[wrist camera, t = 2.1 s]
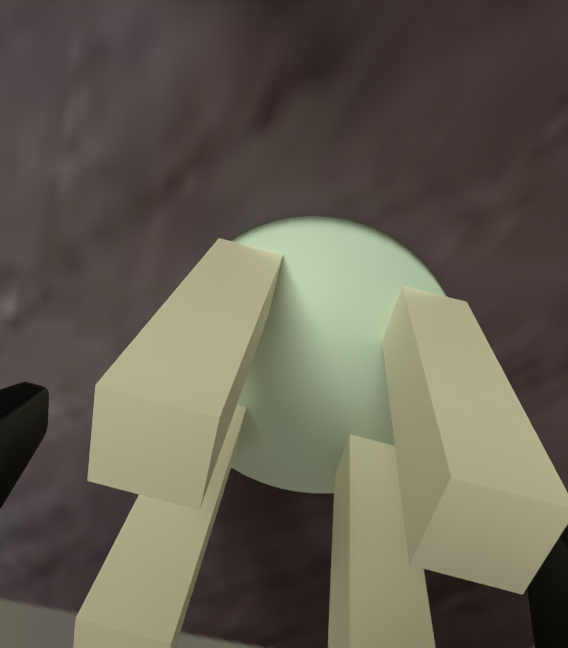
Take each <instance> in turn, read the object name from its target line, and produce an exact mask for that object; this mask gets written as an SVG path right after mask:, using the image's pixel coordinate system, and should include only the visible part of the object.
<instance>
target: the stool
mask: <svg viewBox="0 0 568 648" xmlns="http://www.w3.org/2000/svg"><path fill="white" fill-rule="evenodd" d="M231 468H233V469H235V470H237V471H238V472H240V473H242V474H244V475H245V476H248V477H250V478H252V479H255V480H257V481H259V482H262V483H265V484H268V485H271V486H274V487H277V488H281V489H286V490H291V491H296V492H306V493H334V506H333V531H332V556H331V581H330V606H329V632H328V648H435V641H434V634H433V628H432V621H431V614H430V608H429V601H428V595H427V588H426V581H425V575H424V569H427V570H431V571H434V572H438V573H442V574H446V575H450V576H454V577H457V578H461V579H465V580H469V581H473V582H477V583H480V584H484V585H488V586H492V587H496V588H499V589H503V590H507V591H511V592H515V593H519V594H522V595H523V593H524V592H525V590H526V589H527V587H528V585H529V584H530V582H531V581H532V579H533V578H534V576H535V574H536V573H537V571H538V570H539V568H540V567H541V565H542V563H543V562H544V560H545V559H546V557H547V555H548V554H549V552H550V551H551V549H552V548H553V546H554V544H555V543H556V541H557V540H558V538H559V537H560V535H561V533H562V532H563V530H564V529H565V527H566V526H567V524H568V493H567V491H566V489H565V487H564V485H563V483H562V482H561V480H560V478H559V476H558V474H557V472H556V470H555V468H554V466H553V464H552V463H551V461H550V459H549V457H548V455H547V453H546V451H545V449H544V447H543V446H542V444H541V442H540V440H539V438H538V436H537V434H536V432H535V430H534V429H533V427H532V425H531V423H530V421H529V419H528V417H527V415H526V413H525V412H524V410H523V408H522V406H521V404H520V402H519V400H518V398H517V396H516V395H515V393H514V391H513V389H512V387H511V385H510V383H509V381H508V379H507V377H506V376H505V374H504V372H503V370H502V368H501V366H500V364H499V362H498V360H497V359H496V357H495V355H494V353H493V351H492V349H491V347H490V345H489V343H488V342H487V340H486V338H485V336H484V334H483V332H482V330H481V328H480V326H479V325H478V323H477V321H476V319H475V317H474V315H473V313H472V311H471V309H470V307H469V306H468V304H467V302H465V301H461V300H457V299H453V298H449V297H447V296H446V293H445V291H444V289H443V288H442V286H441V284H440V283H439V281H438V280H437V278H436V277H435V275H434V274H433V272H432V271H431V270H430V269H429V268H428V267H427V265H426V264H425V263H424V262H423V261H422V260H421V259H420V258H419V257H418V256H417V255H416V254H415V253H413V252H412V251H411V250H410V249H409V248H408V247H407V246H405V245H404V244H402V243H401V242H399V241H398V240H396V239H394V238H393V237H391V236H390V235H388V234H386V233H384V232H382V231H379V230H377V229H375V228H373V227H371V226H368V225H365V224H362V223H359V222H355V221H352V220H347V219H342V218H336V217H327V216H301V217H291V218H286V219H281V220H276V221H272V222H269V223H266V224H264V225H261V226H258V227H255V228H253V229H251V230H249V231H247V232H245V233H243V234H241V235H239V236H238V237H236V238H235V239H233V240H232V241H228V240H224V239H220V238H219V239H218V240H217V241H216V242H215V244H214V245H213V246H212V247H211V248H210V249H209V251H208V252H207V253H206V254H205V255H204V257H203V258H202V259H201V260H200V261H199V263H198V264H197V265H196V266H195V267H194V268H193V270H192V271H191V272H190V273H189V274H188V276H187V277H186V278H185V279H184V280H183V282H182V283H181V284H180V285H179V286H178V287H177V289H176V290H175V291H174V292H173V293H172V295H171V296H170V297H169V298H168V299H167V301H166V302H165V303H164V304H163V305H162V307H161V308H160V309H159V310H158V311H157V312H156V314H155V315H154V316H153V317H152V318H151V320H150V321H149V322H148V323H147V324H146V326H145V327H144V328H143V329H142V330H141V331H140V333H139V334H138V335H137V336H136V337H135V339H134V340H133V341H132V342H131V343H130V345H129V346H128V347H127V348H126V349H125V350H124V352H123V353H122V354H121V355H120V356H119V358H118V359H117V360H116V361H115V362H114V364H113V365H112V366H111V367H110V368H109V370H108V371H107V372H106V373H105V374H104V375H103V377H102V378H101V379H100V380H99V381H98V383H97V384H96V386H95V398H94V410H93V421H92V433H91V445H90V457H89V468H88V480H87V481H90V482H94V483H98V484H102V485H105V486H109V487H113V488H117V489H121V490H125V491H128V492H132V493H136V494H139V496H138V498H137V499H136V501H135V503H134V505H133V507H132V509H131V511H130V513H129V515H128V517H127V519H126V521H125V523H124V525H123V527H122V529H121V531H120V533H119V535H118V537H117V539H116V540H115V542H114V544H113V546H112V548H111V550H110V552H109V554H108V556H107V558H106V560H105V562H104V564H103V566H102V568H101V570H100V572H99V574H98V576H97V578H96V580H95V581H94V583H93V585H92V587H91V589H90V591H89V593H88V595H87V597H86V599H85V601H84V603H83V605H82V607H81V609H80V611H79V613H78V615H77V617H76V620H75V632H74V644H73V648H175V647H176V644H177V640H178V637H179V634H180V631H181V628H182V625H183V621H184V618H185V615H186V612H187V608H188V605H189V602H190V599H191V595H192V592H193V589H194V586H195V582H196V579H197V576H198V573H199V570H200V566H201V563H202V560H203V557H204V553H205V550H206V547H207V544H208V540H209V537H210V534H211V531H212V528H213V524H214V521H215V518H216V515H217V511H218V508H219V505H220V502H221V498H222V495H223V492H224V489H225V486H226V482H227V479H228V476H229V473H230V469H231Z"/></svg>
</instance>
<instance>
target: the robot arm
mask: <svg viewBox="0 0 568 648" xmlns="http://www.w3.org/2000/svg"><path fill="white" fill-rule="evenodd" d="M48 406H49V392H48V390H47V389H46V388H45V387H44V386H40V385H36V384H32V383H29V382H22V383H18V384H16V385H13V386H10V387H7V388H4V389H1V390H0V508H1V507H2V505H3V504H4V502H5V501H6V499H7V497H8V496H9V494H10V492H11V491H12V489H13V487H14V486H15V484H16V483H17V481H18V479H19V478H20V476H21V474H22V473H23V471H24V469H25V468H26V466H27V464H28V463H29V461H30V459H31V458H32V456H33V454H34V453H35V451H36V449H37V448H38V446H39V444H40V443H41V441H42V439H43V438H44V435H45V433H46V430H47V426H48ZM527 590H528V598H529V605H530V613H531V621H532V628H533V636H534V643H535V648H568V526H566V527H565V529H564V530H563V532H562V533H561V535H560V537H559V538H558V540H557V541H556V543H555V544H554V546H553V548H552V549H551V551H550V552H549V554H548V555H547V557H546V559H545V560H544V562H543V563H542V565H541V567H540V568H539V570H538V571H537V573H536V574H535V576H534V578H533V579H532V581H531V582H530V584H529V585H528V587H527Z"/></svg>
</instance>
